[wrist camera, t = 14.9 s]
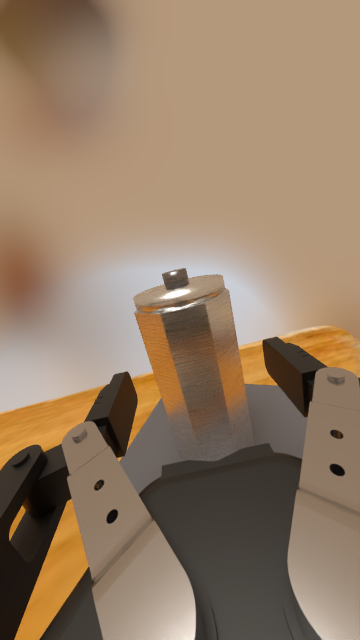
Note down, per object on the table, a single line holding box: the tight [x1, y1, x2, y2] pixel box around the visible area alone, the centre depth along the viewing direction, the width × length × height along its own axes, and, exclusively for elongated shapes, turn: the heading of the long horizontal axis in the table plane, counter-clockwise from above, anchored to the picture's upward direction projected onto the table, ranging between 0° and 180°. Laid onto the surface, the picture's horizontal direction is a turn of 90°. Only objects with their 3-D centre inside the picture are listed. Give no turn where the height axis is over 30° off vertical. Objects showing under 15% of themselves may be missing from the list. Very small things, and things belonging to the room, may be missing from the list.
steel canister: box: [133, 268, 255, 461], centre depth 15 cm, size 6×6×15 cm
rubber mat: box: [119, 384, 308, 495], centre depth 18 cm, size 16×16×1 cm
